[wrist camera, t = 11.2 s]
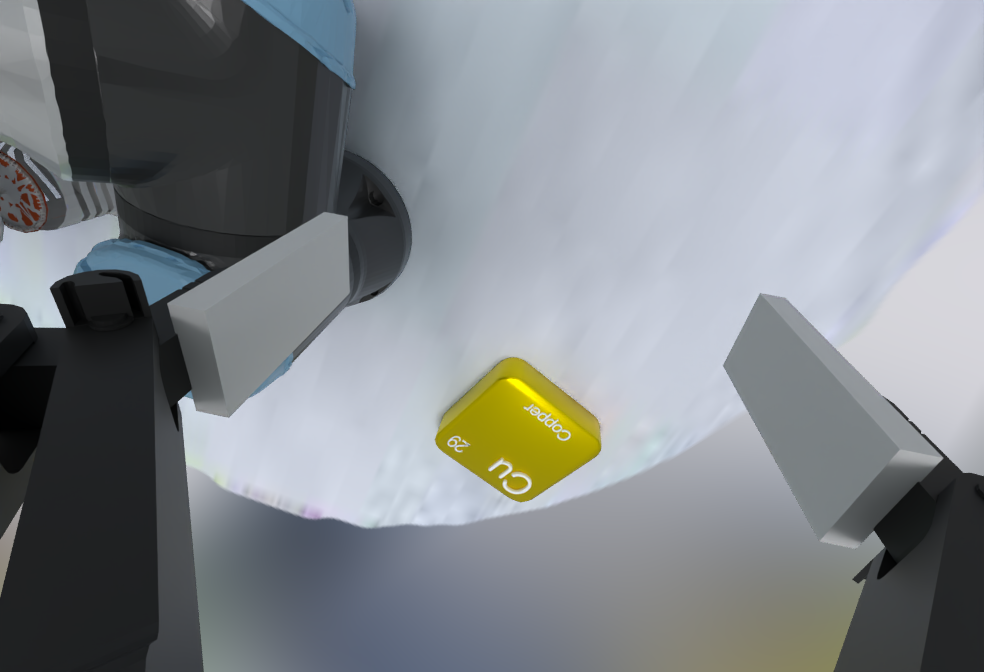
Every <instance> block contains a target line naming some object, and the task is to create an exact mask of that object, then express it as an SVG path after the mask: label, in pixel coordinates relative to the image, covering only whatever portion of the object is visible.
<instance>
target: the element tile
mask: <svg viewBox="0 0 984 672" xmlns="http://www.w3.org/2000/svg"><path fill="white" fill-rule="evenodd" d="M435 442H436V445H437V446H438V448H439V449H440V450H441V451H442V452H444V453H445V454H447V455H448V456H449V457H451V458H452V459H454V460H455V461H457V462H458V463H460V464H461V465H462V466H464V467H465V468H467V469H468V470H470V471H471V472H473V473H474V474H475V475H477V476H478V477H480V478H481V479H483V480H484V481H486V482H487V483H488V484H490V485H491V486H493V487H494V488H496V489H497V490H498V491H500V492H501V493H503V494H504V495H506V496H507V497H509V498H511V499H512V500H515V501H518V502H525V501H529V500H532V499H533V498H535V497H536V496H538V495H539V494H541V493H542V492H544V491H545V490H547V489H548V488H550V487H551V486H553V485H554V484H556V483H557V482H559V481H560V480H562V479H563V478H565V477H566V476H568V475H569V474H571V473H572V472H574V471H575V470H577V469H578V468H580V467H581V466H583V465H584V464H586V463H587V462H589V461H590V460H592V459H593V458H595V457H596V456H597V455H598V454H599V452H600V451H601V436H600V424H599V422H598V420H597V418H596V417H595V416H594V415H593V414H591V413H590V412H589V411H588V410H586V409H585V408H584V407H583V406H581V405H580V404H579V403H577V402H576V401H575V400H574V399H572V398H571V397H570V396H569V395H567V394H566V393H565V392H564V391H562V390H561V389H560V388H559V387H557V386H556V385H555V384H554V383H552V382H551V381H550V380H549V379H547V378H546V377H545V376H543V375H542V374H541V373H540V372H538V371H537V370H536V369H535V368H533V367H532V366H531V365H530V364H528V363H527V362H526V361H524V360H522V359H519V358H507V359H504V360H503V361H501V362H500V363H498V364H497V365H496V366H495V367H494V368H493V369H492V370H491V371H490V372H489V373H488V374H487V375H486V376H484V377H483V378H482V379H481V380H480V381H479V382H478V383H477V384H476V385H475V386H474V387H473V388H472V389H470V390H469V391H468V392H467V393H466V394H465V395H464V396H463V397H462V398H461V399H460V400H459V401H458V402H456V403H455V404H454V405H453V406H452V407H451V408H450V409H449V410H448V411H447V412H446V413H445V414H444V416H443V418H442V421H441V424H440V426H439V429H438V432H437V435H436V438H435Z"/></svg>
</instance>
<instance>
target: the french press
mask: <svg viewBox="0 0 984 672" xmlns="http://www.w3.org/2000/svg"><path fill="white" fill-rule="evenodd" d="M0 143H2V141H0ZM10 147H11V145H9V144H7V143H5V145H4V146H3V147H2V149H1V150H0V242H1V241H2V240H3V232H4V225H6V226H7V227H8V228H10V229H14V230H17V231H21V232H24V233H28V232H35V231H38V230H55V229H59V228H63V227H66V226H70V225H73V224H77V223H80V222H81V221H86V220H90V219H93V218H94V217H99V216H103V215H105V214H112V215H115V216H118V214H117V207H116V200H115V194H114V187H113V184H110V183H97V182H81V181H66V180H63V179H61V178H60V177H58V176H57V175H55V174H54V173H52V172H51V171H50V170H48V169H47V168H45V167H44V166H42V165H41V164H39V163H38V162H36V161H35V160H34V159H32V158H31V157H30V160H31V161H32V162H33V163H34V164H35V165H36V167H37V168H38V169H39V170H40V171H41V172H42V173H43V175H44V176H45V177H46V178H47V179H48V180H49V181H50V183H51V184H52V185H53V186H54V187H55V188H56V190H57V191H58V193H59V194H60V195H61V197H62V198H59V199H56V197H55V196H54V195H53V193H52V192H51V191H50V189H49V188H48V187H47V186H46V184H45V183H44V182H43V181H42V180H41V179H40V178H39V176H38V175H37V174H36V173H35V172H34V171H33V170H32V169H31V168H30V167H29V166H28V165H27V164H26V163H25V161H24V157H23V153H22V151H21V150H19V149H18V148H16V149H15V150H14V154H15V159H16V160H14V159H13V158H11V157H10V156H8V154H7V151H8V150H9V149H10ZM42 191H43V192H44V193H43V192H42ZM44 194H45V195H46V196H47V198H48V199H49V201H46V200H45V196H44ZM98 215H99V216H98Z"/></svg>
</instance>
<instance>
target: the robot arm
mask: <svg viewBox="0 0 984 672" xmlns="http://www.w3.org/2000/svg"><path fill="white" fill-rule="evenodd" d="M355 37H356V12H355V7H354V4H353V1H352V0H0V141H2V142H5V143H7V144H9V145H11V146H13V147H16V148H18V149H19V150H21V151H22V152H23V153H25V154H26V155H28V156H29V157H31V158H32V159H34V160H35V161H36V162H38V163H39V164H41V165H42V166H44V167H45V168H47V169H48V170H50V171H51V172H52V173H54V174H55V175H57V176H58V177H60V178H61V179H63V180H66V181H81V182H97V183H110V184H113V187H114V194H115V200H116V207H117V214H118V220H119V227H120V236H119V238H118V239H110V240H107V241H104V242H100V243H98V244H97V245H95V246H94V247H93V249H92V251H91V252H90V253H89V254H88V255H87V257H85V258H84V259H82V260H81V261H80V262H79V263H78V264H77V266H76V268H75V271H74V274H73V275H70V276H67V277H65V278H63V279H61V280H59V281H57V282H55V283H54V284H53V285H52V286H51V288H50V290H51V293H52V295H53V297H54V300H55V302H56V305H57V307H58V309H59V312H60V314H61V316H62V319H63V321H64V324H65V326H66V328H34V327H33V325H32V323H31V321H30V319H29V317H28V314H27V313H26V311H25V310H24V309H23V308H22V307H19V306H15V305H11V304H0V539H1V537H2V536H3V534H4V533H5V531H6V529H7V528H8V526H9V524H10V523H11V521H12V519H13V518H14V516H15V515H16V513H17V511H18V510H19V508H20V506H21V505H22V503H23V507H22V511H21V515H20V519H19V523H18V527H17V531H16V535H15V539H14V543H13V547H12V552H11V556H10V560H9V564H8V568H7V572H6V576H5V580H4V584H3V589H2V592H1V597H0V672H204V671H203V658H202V647H201V635H200V623H199V612H198V601H197V589H196V577H195V566H194V556H193V555H194V554H193V543H192V532H191V520H190V509H189V497H188V486H187V474H186V462H185V451H184V439H183V428H182V416H181V411H180V408H179V404H178V401H179V400H180V399H181V398H182V397H184V396H185V397H188V398H191V399H193V400H194V404H195V407H196V411H199V412H204V413H209V414H214V415H218V416H223V417H228V418H229V417H230V416H231V415H232V414H233V413H234V412H235V411H236V410H237V409H238V408H239V407H240V406H241V405H242V404H243V403H244V402H245V401H246V400H247V399H248V398H249V397H252V396H254V395H256V394H257V393H259V392H261V391H262V390H263V389H264V388H266V387H267V386H268V385H269V384H271V383H272V382H273V381H274V380H276V379H277V378H278V377H280V376H282V375H284V374H285V372H287V371H288V370H289V369H290V367H291V366H292V362H293V361H294V360H295V359H296V358H297V357H298V356H299V355H300V354H301V353H302V352H303V351H304V350H305V349H306V348H307V347H308V346H309V345H310V344H311V343H312V341H313V340H314V339H315V338H316V337H317V336H318V335H319V334H320V333H321V332H322V331H323V330H324V329H325V328H326V327H327V326H328V325H329V324H330V323H331V321H332V320H333V319H334V318H335V317H336V316H337V315H338V314H339V313H340V312H341V311H342V310H343V309H344V308H345V307H348V306H351V305H355V304H358V303H361V302H364V301H368V300H370V299H373V298H375V297H377V296H378V295H380V294H381V293H383V292H384V291H385V290H387V289H388V288H389V287H390V286H391V285H392V284H393V282H394V281H395V280H396V279H397V278H398V277H399V275H400V274H401V273H402V271H403V269H404V268H405V266H406V263H407V261H408V258H409V254H410V250H411V226H410V221H409V217H408V214H407V211H406V208H405V205H404V203H403V201H402V199H401V197H400V195H399V194H398V192H397V191H396V189H395V188H394V186H393V185H392V183H391V182H390V181H389V180H388V179H387V178H386V177H385V175H384V174H383V173H381V172H380V171H379V170H378V169H377V168H376V167H375V166H373V165H372V164H371V163H369V162H368V161H366V160H365V159H363V158H361V157H359V156H357V155H355V154H353V153H350V152H347V151H344V147H345V140H346V132H347V124H348V117H349V109H350V101H351V94H352V89H354V90H355V86H356V83H355V79H354V77H353V63H354V50H355ZM723 366H724V368H725V370H726V372H727V374H728V376H729V377H730V379H731V381H732V383H733V385H734V387H735V388H736V390H737V392H738V394H739V396H740V397H741V399H742V401H743V403H744V405H745V407H746V408H747V410H748V412H749V414H750V416H751V418H752V419H753V421H754V423H755V425H756V427H757V428H758V430H759V432H760V434H761V436H762V437H763V439H764V441H765V443H766V445H767V447H768V449H769V450H770V452H771V454H772V456H773V457H774V459H775V461H776V463H777V465H778V467H779V469H780V470H781V472H782V474H783V476H784V478H785V480H786V481H787V483H788V485H789V487H790V489H791V491H792V492H793V494H794V496H795V498H796V500H797V501H798V503H799V505H800V507H801V509H802V511H803V512H804V514H805V516H806V518H807V520H808V521H809V523H810V525H811V527H812V529H813V531H814V533H815V534H816V536H817V538H818V540H819V541H820V542H825V543H830V544H835V545H840V546H844V547H849V548H854V549H856V548H857V547H858V546H859V545H860V544H861V543H862V542H863V541H864V540H865V539H866V538H867V537H868V536H869V535H870V534H871V533H872V532H873V531H875V532H876V534H877V535H878V537H879V538H880V540H881V541H882V543H883V544H884V546H885V548H884V549H883V550H882V551H881V552H880V553H879V554H878V555H877V556H876V557H875V558H874V559H873V560H872V561H870V562H869V563H868V564H867V565H866V566H865V567H864V568H863V569H862V570H861V571H860V572H859V573H858V574H857V575H856V576H855V577H854V578H853V580H854V581H855V582H857V583H859V582H861V581H862V580H863V579H866V581H865V584H864V587H863V590H862V593H861V596H860V598H859V601H858V604H857V607H856V610H855V613H854V616H853V618H852V621H851V624H850V627H849V630H848V633H847V635H846V638H845V641H844V644H843V647H842V650H841V652H840V655H839V658H838V661H837V664H836V667H835V670H834V672H984V476H980V475H977V474H973V473H963V472H962V471H961V470H960V469H959V468H958V467H957V466H956V465H955V464H954V463H953V462H952V461H951V460H949V458H948V457H947V456H946V455H945V454H944V453H943V452H942V451H941V450H940V449H939V448H938V447H937V446H936V445H935V444H934V443H933V442H932V441H931V440H930V439H929V438H928V437H927V436H926V435H925V434H921V430H920V429H919V428H918V427H917V426H916V425H915V424H914V423H913V422H911V421H908V419H909V418H908V417H907V416H906V415H905V414H904V413H903V412H902V411H901V410H900V409H899V408H898V407H897V406H896V405H895V404H894V403H892V402H891V401H889V400H888V399H886V398H885V397H883V396H882V395H881V394H880V393H879V392H878V391H877V390H876V389H875V388H874V387H873V386H872V385H871V384H870V383H869V382H868V381H867V380H866V379H865V378H864V377H863V376H862V375H861V374H860V373H859V372H858V371H857V370H856V369H855V368H854V367H853V366H852V365H851V364H850V363H849V362H848V361H847V360H846V359H845V358H844V357H843V356H842V355H841V354H840V353H839V352H838V351H837V350H836V349H835V348H834V347H833V346H832V345H831V344H830V343H829V342H828V341H827V340H826V339H825V338H824V337H823V336H822V335H821V334H820V333H819V332H818V331H817V330H816V329H815V328H814V327H813V325H812V324H811V323H810V322H809V321H808V320H807V319H806V318H805V317H804V316H803V315H802V314H801V313H800V312H799V311H798V310H797V309H796V308H795V307H794V306H793V305H792V304H791V303H790V302H789V301H788V300H787V299H786V298H783V297H777V296H772V295H767V294H761V293H760V295H759V296H758V298H757V300H756V302H755V304H754V306H753V308H752V310H751V312H750V314H749V316H748V318H747V320H746V322H745V324H744V326H743V328H742V330H741V332H740V334H739V335H738V337H737V339H736V341H735V343H734V345H733V347H732V349H731V351H730V353H729V355H728V357H727V359H726V361H725V363H724V365H723Z"/></svg>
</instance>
